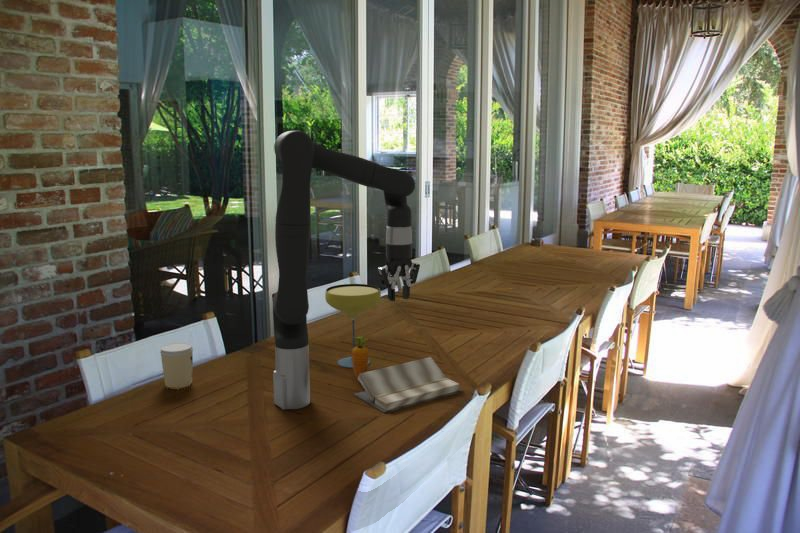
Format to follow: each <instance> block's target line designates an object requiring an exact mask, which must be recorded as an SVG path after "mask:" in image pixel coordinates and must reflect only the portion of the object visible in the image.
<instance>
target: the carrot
mask: <svg viewBox="0 0 800 533" xmlns="http://www.w3.org/2000/svg"><path fill="white" fill-rule="evenodd" d="M363 338H364V334H363V335H362V334H361V335H360V336H358V337H355V341H356V343H357V344H356V345H357V346H356V345H355V347H354V348H353V347H352V349H351V357H352V363H353V368H352V369H353V372H354V375H355V378H356V379H357V381H358V383H360V381H359V380H358V376H359V374H360V373H364V372H368V371H367V370H368V366H369V365H368V360H369V349H368V348H367V347H366V346H364V344H365V342H367V341H369V339H368V338H365V339H364V340H363Z"/></svg>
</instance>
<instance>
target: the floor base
mask: <svg viewBox="0 0 800 533" xmlns="http://www.w3.org/2000/svg"><path fill="white" fill-rule="evenodd" d="M462 392H464V389H461V388H460V383H458V382H456V381H454V380H452V379H450V378H449V377H446V378H444V379H441V380H437V381H433V382H429V383H425V384H421V385H418V386H414V387H410V388H406V389H402V390H398V391H394V392H391V393H387V394H383V395H379V396H375V401H372V400H371V399H370V397H369V395H368V394H367V392H366V391H365V390H364V391H360V392H356V393H353V396H355V397H356V398H358V399H359V400H361V401H363V402H364V403H365V404H368V405H370V406H371V407H373V408H374V409H376V410H378V411H380V412H381V413H383V414H387V413H391V412H395V411H397V410H401V409H404V408H408V407H413V406H415V405H419V404H420V405H421V404H422V403H426V402H430V401H433V400H434V401H435V400H437V399H440V398H443V397H444V398H445V397H447V396H451V395H455V394H458V393H462Z"/></svg>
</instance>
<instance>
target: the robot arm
mask: <svg viewBox="0 0 800 533" xmlns="http://www.w3.org/2000/svg"><path fill="white" fill-rule="evenodd" d="M273 148H274V149H273V150H274V154H275V156H276V157H277V159H278V160H279V161H280V162H281V175H282V176H281V177H282V180H281V181H282V182H281V183H282V184H281V191H280V195H279V199H278V204H277V208H276V213H275V225H274V226H275V231H274V235H275V238H274V239H275V250H276V251H275V253H276V259H277V266H278V282H277V283H278V285H277V291H276V293H274V296H273V297H272V298H273V299H272V319H273V320H272V323H273V324H272V325H273V336H274V350H275V351H274V353H275V354H274V356H275V358H274V359H275V370H273V372H272V374H273V375H272V379H273V403H274V405H276V406H277V407H279V408H280V409H281V410H283V411H284V410H298V409H302V408H305V407H307V406H309V405H310V403H311V391H310V390H311V389H310V388H311V386H310V385H311V384H310V350H309V347H310V346H309V332H308V324H307V322H308V321H307V319H308V318H307V315H308V313H309V309H310V304H309V296H308V282H307V281H308V280H307V277H308V276H307V274H308V273H307V272H308V264H309V255H310V244H311V243H310V242H311V240H310V239H311V181H312V180H311V178H312V170H313V169H315V170H318V171H322V172H325V173H328V174H330V175H333V176H336V177H339V178H341V179H344V180H347V181H349V182H352V183H355V184H357V185H361V186H364V187H367V188H371V189H377V190H380V191H383V196H384V197H383V198H384V203H385V207H386V230H385V231H386V232H385V257H386V263H385V265H384V266H378V267H377V268H376V270H377V274H378V276H379V281H380V284H381V287H384V288H386V289H387V300H388V301H390V302H396V284H397V282H398V279H399V278H400V279H401V281H402V299H404V300H409V298H410V296H411V286H412V285H413V284H416V282H417V280H418V276H419V271H420V268H421V267H420V264H419V263H417V262H413V261H412V258H413V230H412V210H411V207H410V206H409V205H408V201H407V197H409V196H410V195H412V193H414V191H415V188H416V181H415V179H414V178H413V176H412V175H411V174H410V173H408V172H406V171H402V170H399V169H397V168H392V167H388V166H384V165H381V164H380V163H376V162H375V161H372V160H369V159H366V158H364V157H360V156H356V155H352V154H349V153H345V152H342V151H341V152H340V151H337V150H333V149H330V148H328V147H324V146H322V145H320V144H318V143H315V142H313V140H312V138H311V137H310V136H309V135H308V134H307V133H305V131H301V130H287V131H285V132H283V133H281V134H280V135H279V136H277V138H276V139H275V141H274V146H273Z"/></svg>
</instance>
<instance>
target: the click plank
mask: <svg viewBox="0 0 800 533" xmlns="http://www.w3.org/2000/svg"><path fill="white" fill-rule="evenodd" d="M444 378H447V377H446V375H445V374H444V372H443V371H442V370H441V369H440V367H439V365H438V364H437V363H436V362H435V360H434V359H433V358H432V356H429V357H424V358H421V359H417V360H412V361H408V362H404V363H398V364H395V365H391V366H387V367H383V368H377V369H374V370H370V371H366V372H364V373H360V374H359V376H358V380H359V381H360V382H359V381H358V380H357V381H358V382H359V383H360V384H361V386H362V388H363V389H364V391H366V392H367V394H368V395H369V397H370V399H371V400H372V401H375V396H379V395H383V394H387V393H391V392H394V391H398V390H402V389H406V388H410V387H414V386H418V385H421V384H425V383H429V382H433V381H437V380H441V379H444Z"/></svg>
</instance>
